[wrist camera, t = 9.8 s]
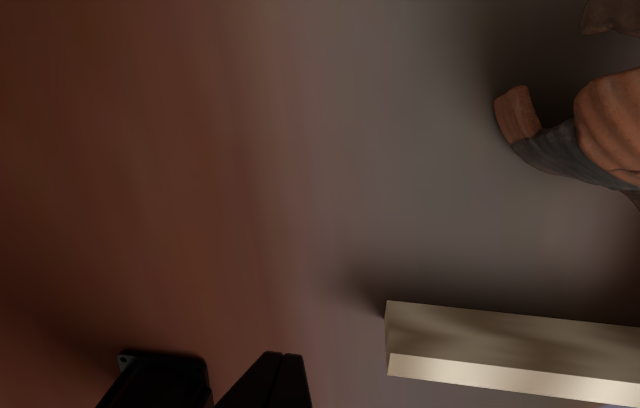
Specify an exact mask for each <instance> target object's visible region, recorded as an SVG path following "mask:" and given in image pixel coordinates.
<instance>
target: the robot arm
mask: <svg viewBox="0 0 640 408" xmlns="http://www.w3.org/2000/svg"><path fill="white" fill-rule="evenodd" d="M117 361H118V365H119V368H120V372H121V374H120V375H119V377H118V378H117V379H116V381H115V382H114V383H113V385H112V386H111V387H110V388H109V390H108V391H107V392H106V394H105V395H104V396H103V398H102V399H101V400H100V402H99V403H98V404H97V406H96V407H95V408H313V407H312V402H311V397H310V392H309V387H308V382H307V377H306V372H305V367H304V362H303V357H302V356H301V355H299V354H290V353H286V354H284V355H283V354H282V353H281V352H273V351H266V352H264V353H263V354H262V355H261V356H260V357H259V358H258V359H257V360H256V362H255V363H254V364H253V365H252V366H251V367H250V368H249V369H248V370H247V371H246V372H245V373H244V374H243V376H242V377H241V378H240V379H239V380H238V381H237V382H236V383H235V384H234V385H233V386H232V387H231V388H230V390H229V391H228V392H227V393H226V394H225V395H224V396H223V397H222V398H221V399H220V400H219V401H218V402H217V404H216V405H215V406H214V402H213V395H212V390H211V388H210V386H209V378H208V371H207V365H206V364H205V362H203V361H201V360H195V359H187V358H180V357H172V356H165V355H157V354H150V353H142V352H135V351H127V350H123V351H121V352H120V354H119V355H118V356H117Z"/></svg>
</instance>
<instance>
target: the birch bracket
mask: <svg viewBox="0 0 640 408" xmlns="http://www.w3.org/2000/svg"><path fill="white" fill-rule="evenodd" d="M384 326H385V344H386V363H387V375H391V376H399V377H407V378H414V379H422V380H430V381H437V382H445V383H453V384H461V385H468V386H476V387H484V388H491V389H499V390H507V391H514V392H522V393H530V394H538V395H545V396H553V397H561V398H568V399H576V400H584V401H591V402H599V403H607V404H615V405H623V406H630V407H638V408H640V327H630V326H621V325H612V324H603V323H593V322H584V321H575V320H566V319H557V318H547V317H538V316H529V315H520V314H511V313H501V312H492V311H483V310H474V309H464V308H455V307H446V306H437V305H428V304H418V303H409V302H400V301H391V300H387V303H386V310H385V318H384Z"/></svg>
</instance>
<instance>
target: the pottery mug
mask: <svg viewBox="0 0 640 408" xmlns="http://www.w3.org/2000/svg"><path fill="white" fill-rule="evenodd" d="M611 29H614V30H616V31H618V32H619V33H622V34H628V35H632V36H636V37H640V0H588V2H587V4H586V6H585V9H584V11H583V15H582V17H581V20H580V23H579V31H580V33H581V34H582V35H592V34H598V33H601V32H605V31H608V30H611ZM494 110H495V116H496V119H497V122H498V124H499V127H500V130H501V132H502V133H503V135H504V137H505V138H506V140H507V142H508V143H509V144H510V146H511V148H512V149H513V150H514V151H515V153H516V154H517V155H518V156H520V157H521V158H522V159H523V160H524V161H525V162H526V163H528V164H529V165H531V166H533V167H535V168H536V169H538V170H540V171H543V172H546V173H549V174H554V175H561V176H566V177H571V178H575V179H579V180H581V181H583V182H586V183H589V184H594V185H601V186H604V187H607V188H609V189H611V190H619V191H620V192H622V193H623V194H625V195H626V196H627V197H628V198H630V200H631V201H632V202H633V203H634V205H635V206H636V207H637V208H638V210H639V211H640V66H639V67H636V68H633V69H629V70H626V71H622V72H619V73H615V74H611V75H605V76H601V77H598V78H595V79H593V80H592V81H590V82H589V84H588V85H587V86H585V87H584V88H583V89H582V90H581V91H580V92H579V93H578V95H577V96H576V97H575V99H574V110H573V112H574V118H571V119H568V120H565V121H563V122H562V123H561V124H559V125H557V126H556V127H554V128H552V129H544V128H543V127H542V125H541V123H540V121H539V119H538V117H537V115H536V112H535V110H534V107H533V103H532V100H531V96H530V93H529V89H528V87H527V86H524V85H520V86H517V87H514V88H512V89H510V90H509V91H508V92H507V93H506V94H504V95H501V96H500V97H498V98H496V99H495V101H494Z"/></svg>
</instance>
